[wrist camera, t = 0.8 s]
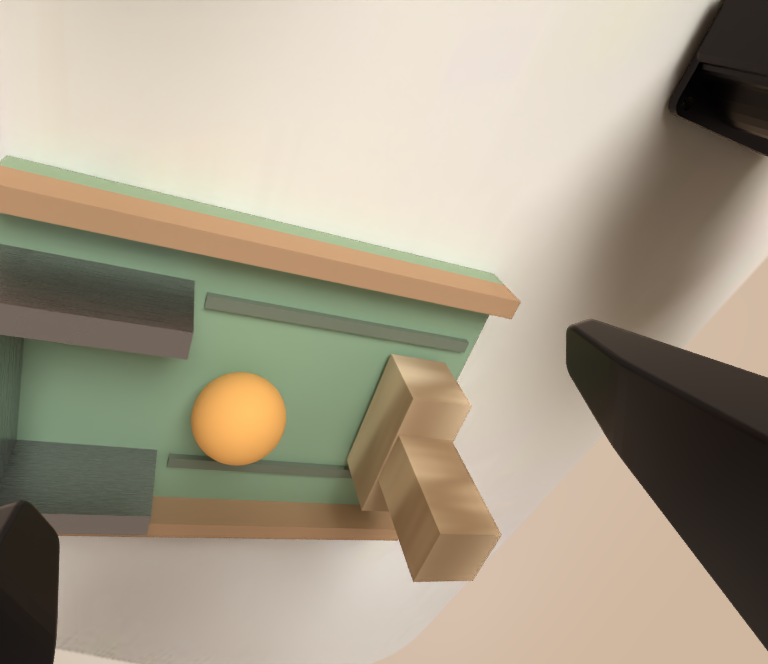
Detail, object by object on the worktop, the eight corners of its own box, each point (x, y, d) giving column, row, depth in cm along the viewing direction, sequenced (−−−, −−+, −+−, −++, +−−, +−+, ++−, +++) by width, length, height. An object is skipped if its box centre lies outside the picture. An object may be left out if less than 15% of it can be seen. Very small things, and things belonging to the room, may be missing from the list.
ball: (290, 361, 23) (303, 417, 20) (268, 427, 24) (277, 488, 21) (200, 348, 21) (201, 406, 19) (184, 419, 23) (181, 483, 20)
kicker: (445, 362, 25) (527, 497, 18) (397, 463, 27) (455, 611, 21) (391, 354, 24) (459, 493, 17) (346, 459, 26) (392, 614, 20)
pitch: (493, 273, 24) (520, 301, 22) (384, 502, 30) (397, 540, 28) (6, 155, 17) (-20, 180, 15) (-10, 484, 23) (-30, 534, 21)
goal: (194, 280, 20) (193, 332, 17) (153, 467, 24) (146, 535, 21) (-7, 242, 17) (-47, 296, 15) (-16, 457, 21) (-49, 532, 19)
